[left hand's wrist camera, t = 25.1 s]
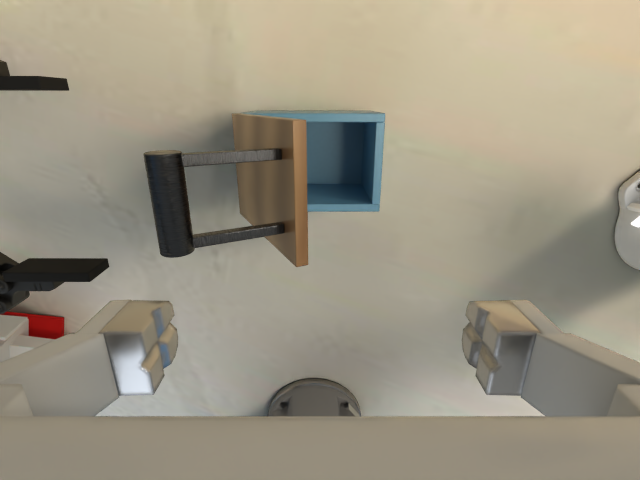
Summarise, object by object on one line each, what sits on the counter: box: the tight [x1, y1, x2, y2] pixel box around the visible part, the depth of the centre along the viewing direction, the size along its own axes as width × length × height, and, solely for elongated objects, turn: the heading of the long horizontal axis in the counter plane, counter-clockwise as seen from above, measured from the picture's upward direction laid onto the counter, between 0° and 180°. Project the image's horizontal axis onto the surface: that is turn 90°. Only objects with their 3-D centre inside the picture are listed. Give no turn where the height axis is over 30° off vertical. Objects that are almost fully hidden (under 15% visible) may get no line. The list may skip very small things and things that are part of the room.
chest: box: [242, 111, 385, 211], centre depth 40 cm, size 14×10×11 cm
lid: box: [144, 113, 308, 267], centre depth 27 cm, size 14×10×9 cm
